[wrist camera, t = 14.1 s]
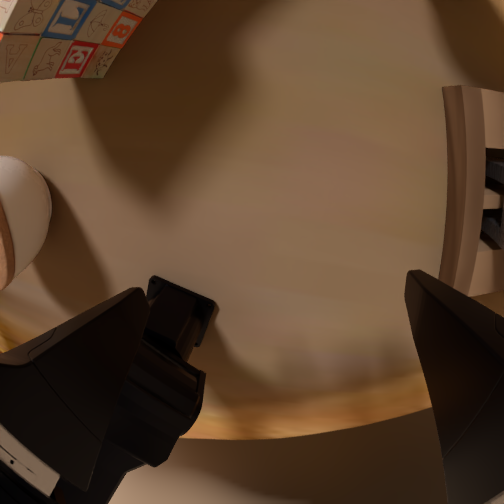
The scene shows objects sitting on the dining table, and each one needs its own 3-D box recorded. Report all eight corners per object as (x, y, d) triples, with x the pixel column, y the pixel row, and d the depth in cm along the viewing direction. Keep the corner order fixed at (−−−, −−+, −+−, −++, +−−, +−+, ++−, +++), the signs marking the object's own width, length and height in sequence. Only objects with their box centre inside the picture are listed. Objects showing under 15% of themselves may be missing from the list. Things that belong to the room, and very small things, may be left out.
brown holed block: (438, 280, 22) (450, 299, 19) (442, 87, 15) (461, 85, 12) (515, 268, 19) (530, 284, 17) (528, 102, 13) (549, 105, 10)
